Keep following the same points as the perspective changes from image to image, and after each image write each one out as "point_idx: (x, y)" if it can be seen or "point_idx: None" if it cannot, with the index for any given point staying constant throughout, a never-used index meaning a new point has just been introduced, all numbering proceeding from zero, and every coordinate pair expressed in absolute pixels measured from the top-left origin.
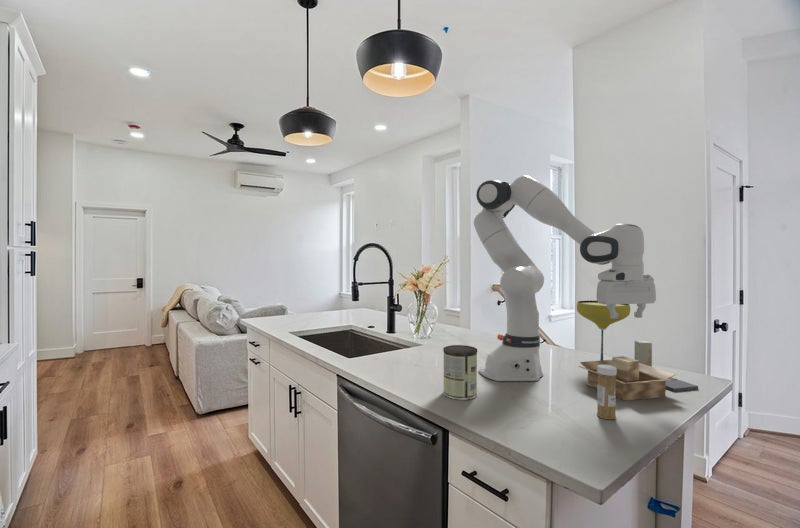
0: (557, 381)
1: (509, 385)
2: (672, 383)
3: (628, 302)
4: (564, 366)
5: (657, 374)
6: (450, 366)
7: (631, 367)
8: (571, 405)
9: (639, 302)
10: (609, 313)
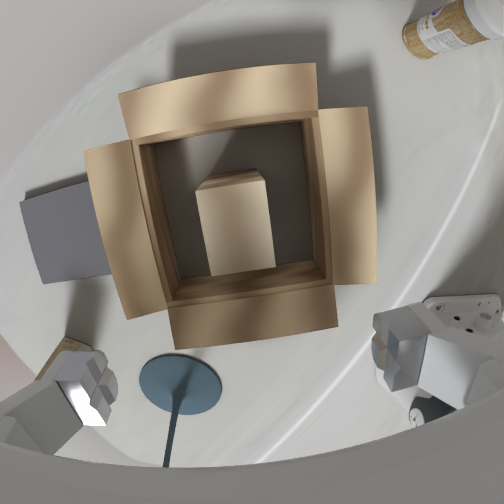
0: (385, 294)
1: (492, 269)
2: (65, 227)
3: (298, 478)
4: (275, 408)
5: (125, 186)
6: None
7: (239, 180)
8: (454, 119)
9: (31, 461)
10: None
